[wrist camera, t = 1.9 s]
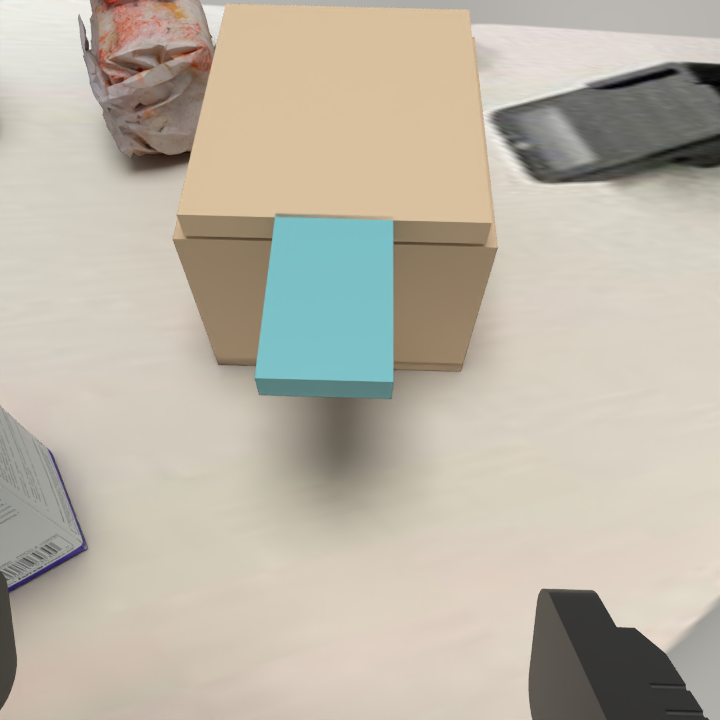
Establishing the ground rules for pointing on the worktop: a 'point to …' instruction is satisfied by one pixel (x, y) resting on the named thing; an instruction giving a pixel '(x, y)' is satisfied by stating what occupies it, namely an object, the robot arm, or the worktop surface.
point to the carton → (410, 292)
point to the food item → (149, 71)
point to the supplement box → (32, 507)
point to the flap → (337, 174)
